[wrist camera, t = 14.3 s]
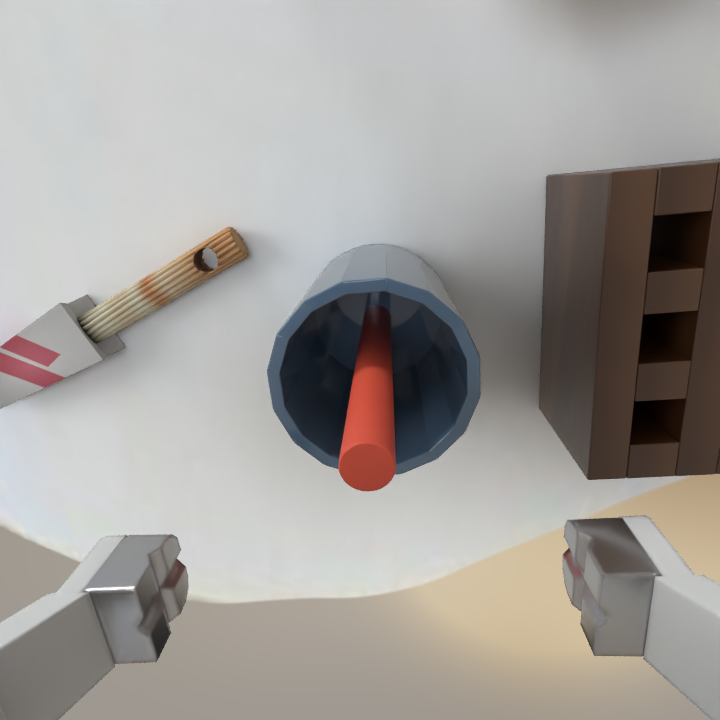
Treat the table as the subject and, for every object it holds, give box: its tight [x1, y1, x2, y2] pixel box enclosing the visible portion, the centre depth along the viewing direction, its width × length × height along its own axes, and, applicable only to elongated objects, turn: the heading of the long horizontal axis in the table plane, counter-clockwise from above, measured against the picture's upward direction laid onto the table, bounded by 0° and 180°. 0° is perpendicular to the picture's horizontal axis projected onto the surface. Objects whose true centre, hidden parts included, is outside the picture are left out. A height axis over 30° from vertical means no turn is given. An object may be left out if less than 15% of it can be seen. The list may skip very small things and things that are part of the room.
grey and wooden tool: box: [0, 227, 248, 409], centre depth 29 cm, size 4×3×20 cm
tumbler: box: [267, 244, 481, 474], centre depth 24 cm, size 8×8×11 cm
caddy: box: [539, 159, 720, 480], centre depth 25 cm, size 10×14×8 cm
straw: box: [338, 305, 396, 491], centre depth 21 cm, size 2×2×16 cm
